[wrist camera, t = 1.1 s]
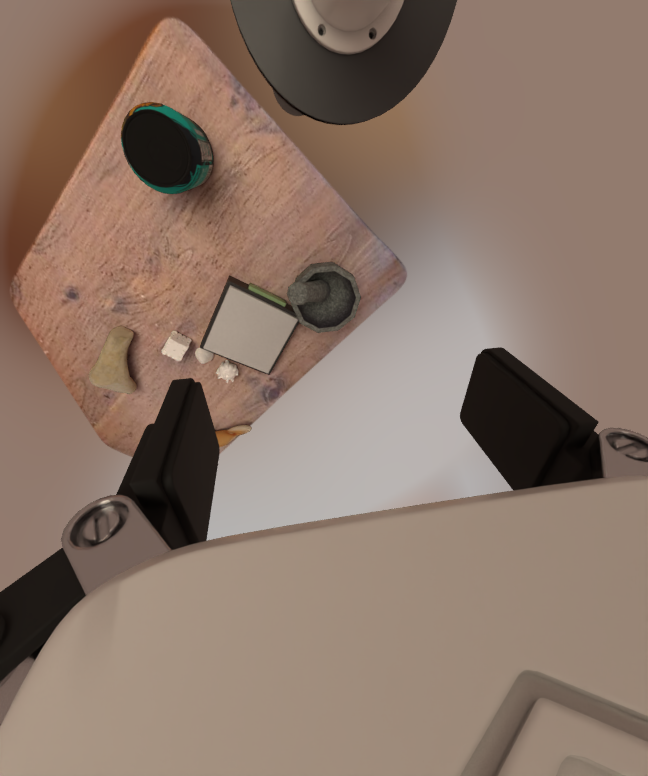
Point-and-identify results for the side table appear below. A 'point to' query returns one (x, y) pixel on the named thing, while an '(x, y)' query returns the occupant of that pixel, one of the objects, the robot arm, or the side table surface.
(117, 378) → the tan bone
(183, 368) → the side table surface
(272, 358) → the scale
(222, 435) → the toy
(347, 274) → the mortar and pestle
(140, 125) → the beverage can
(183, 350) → the game pieces
